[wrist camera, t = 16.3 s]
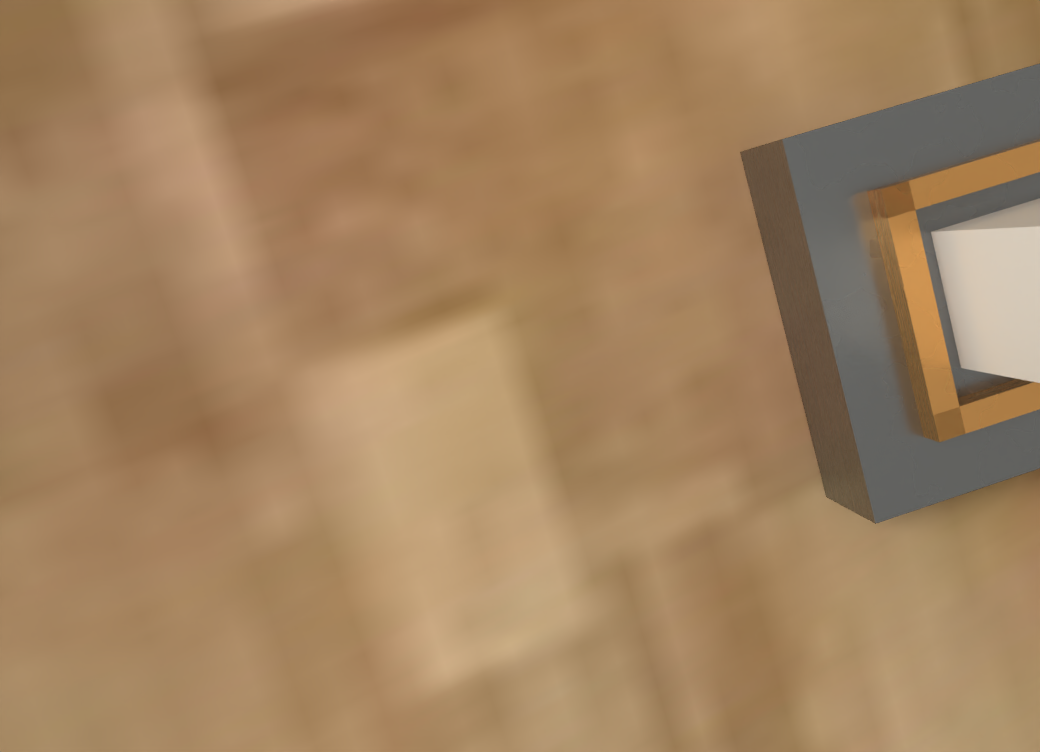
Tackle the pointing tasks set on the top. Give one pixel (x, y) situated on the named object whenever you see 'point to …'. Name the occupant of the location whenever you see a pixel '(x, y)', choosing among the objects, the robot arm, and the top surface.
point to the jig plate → (898, 291)
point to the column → (994, 290)
